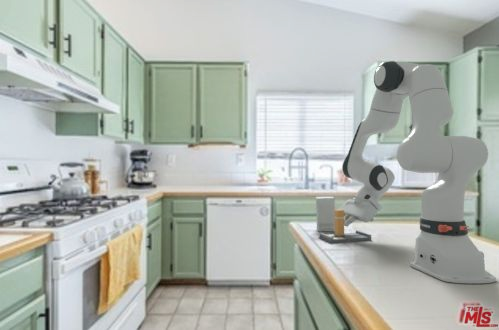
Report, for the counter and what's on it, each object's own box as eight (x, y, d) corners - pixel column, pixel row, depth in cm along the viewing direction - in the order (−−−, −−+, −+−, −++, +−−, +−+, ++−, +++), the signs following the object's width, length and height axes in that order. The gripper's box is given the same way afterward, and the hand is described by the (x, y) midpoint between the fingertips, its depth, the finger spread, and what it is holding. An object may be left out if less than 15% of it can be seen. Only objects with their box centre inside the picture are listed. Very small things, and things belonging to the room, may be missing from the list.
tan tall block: (341, 234, 145) (340, 209, 145) (345, 236, 142) (345, 210, 142) (333, 235, 144) (333, 209, 144) (337, 236, 141) (337, 210, 141)
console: (357, 235, 151) (357, 230, 151) (371, 240, 141) (371, 234, 141) (319, 238, 146) (319, 232, 146) (330, 243, 137) (330, 237, 137)
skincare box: (333, 229, 166) (333, 196, 166) (335, 231, 159) (335, 197, 159) (315, 229, 167) (315, 196, 166) (317, 231, 160) (316, 197, 160)
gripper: (347, 193, 156) (327, 216, 153) (374, 197, 136) (352, 223, 133) (356, 202, 157) (336, 225, 154) (384, 208, 137) (362, 234, 134)
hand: (344, 225), depth 144 cm, fingers closed, pressing on tan tall block
